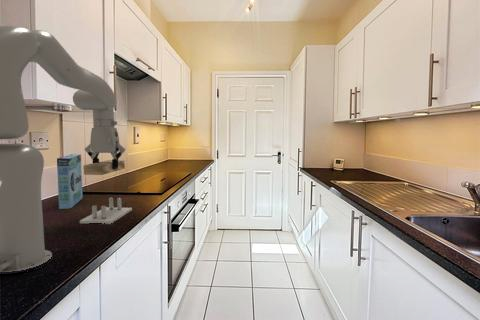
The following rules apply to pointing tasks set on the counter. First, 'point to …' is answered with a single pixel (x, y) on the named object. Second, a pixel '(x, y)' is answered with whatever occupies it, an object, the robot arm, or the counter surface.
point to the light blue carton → (69, 180)
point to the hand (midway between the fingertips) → (105, 168)
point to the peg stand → (106, 213)
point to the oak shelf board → (102, 167)
